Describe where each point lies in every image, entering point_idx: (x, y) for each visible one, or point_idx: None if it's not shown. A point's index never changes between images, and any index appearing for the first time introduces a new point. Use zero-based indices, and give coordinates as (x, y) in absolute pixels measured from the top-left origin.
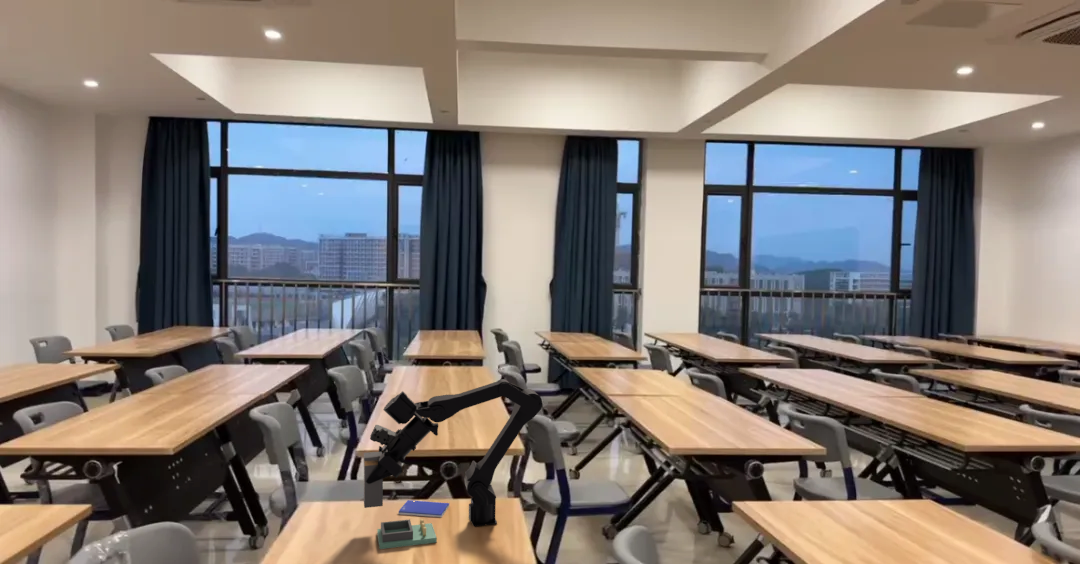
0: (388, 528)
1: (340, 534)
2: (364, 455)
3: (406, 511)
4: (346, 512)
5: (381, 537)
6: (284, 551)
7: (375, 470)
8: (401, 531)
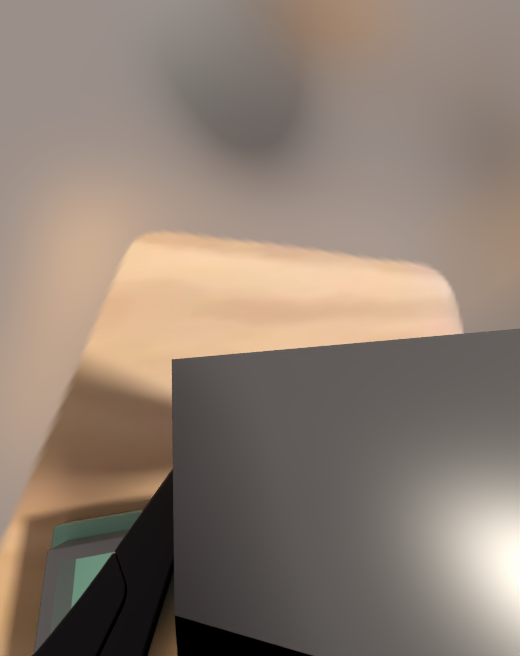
0: None
1: None
2: (382, 346)
3: None
4: None
5: (120, 529)
6: (152, 244)
7: (79, 612)
8: None
